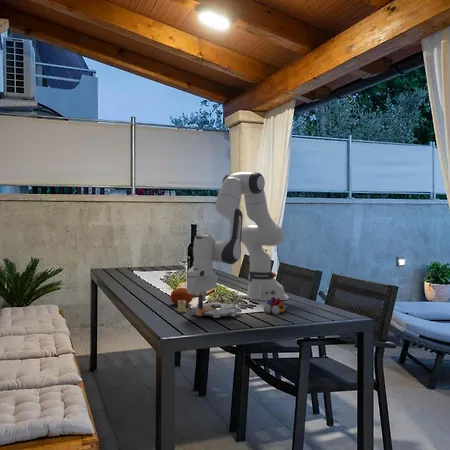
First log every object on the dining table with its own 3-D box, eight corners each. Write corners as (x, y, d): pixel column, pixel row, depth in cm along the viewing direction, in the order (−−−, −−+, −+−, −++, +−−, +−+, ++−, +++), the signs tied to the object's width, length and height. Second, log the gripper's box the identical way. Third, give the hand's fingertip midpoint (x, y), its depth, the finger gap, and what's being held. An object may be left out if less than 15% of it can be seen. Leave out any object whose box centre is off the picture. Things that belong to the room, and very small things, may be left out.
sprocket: (209, 304, 227) (210, 290, 227) (249, 310, 215) (249, 295, 215) (181, 312, 209) (181, 296, 209) (223, 319, 197) (223, 303, 197)
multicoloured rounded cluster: (279, 316, 214) (280, 299, 214) (260, 313, 219) (260, 297, 219) (287, 312, 221) (288, 297, 221) (268, 309, 226) (269, 294, 226)
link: (185, 309, 223) (185, 299, 222) (185, 312, 217) (185, 302, 217) (177, 309, 222) (177, 299, 222) (177, 312, 216) (178, 302, 216)
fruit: (182, 301, 241) (183, 286, 241) (196, 305, 233) (196, 288, 233) (165, 304, 233) (166, 288, 233) (179, 308, 226) (179, 291, 226)
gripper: (208, 267, 225) (208, 296, 225) (184, 272, 207) (183, 304, 208) (220, 268, 222) (219, 297, 222) (196, 273, 204) (196, 305, 205)
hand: (202, 301), depth 215 cm, fingers closed
